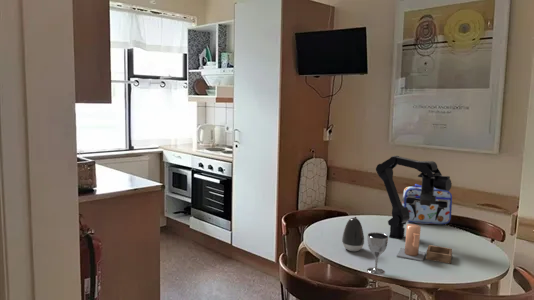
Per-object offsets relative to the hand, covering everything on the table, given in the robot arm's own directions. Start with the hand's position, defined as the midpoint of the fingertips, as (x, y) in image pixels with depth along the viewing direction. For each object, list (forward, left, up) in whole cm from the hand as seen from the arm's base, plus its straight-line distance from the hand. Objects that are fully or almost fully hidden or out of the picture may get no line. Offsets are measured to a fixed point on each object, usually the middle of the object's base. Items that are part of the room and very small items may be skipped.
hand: (425, 218), depth 203 cm
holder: (+8, -15, -13) cm, 21 cm away
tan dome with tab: (-3, -19, -12) cm, 23 cm away
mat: (-4, -18, -13) cm, 22 cm away
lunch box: (-4, +41, -13) cm, 43 cm away
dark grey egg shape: (-29, -24, -13) cm, 40 cm away
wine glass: (-14, -44, -13) cm, 48 cm away
